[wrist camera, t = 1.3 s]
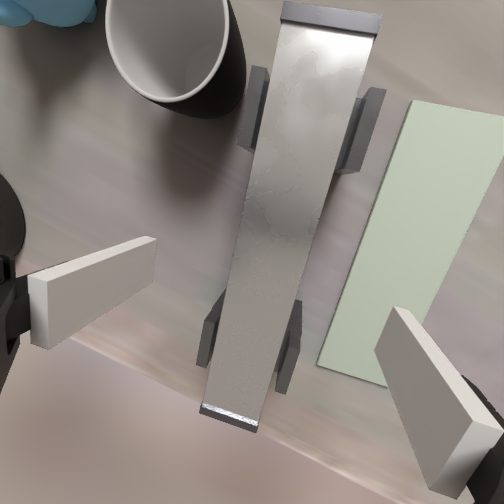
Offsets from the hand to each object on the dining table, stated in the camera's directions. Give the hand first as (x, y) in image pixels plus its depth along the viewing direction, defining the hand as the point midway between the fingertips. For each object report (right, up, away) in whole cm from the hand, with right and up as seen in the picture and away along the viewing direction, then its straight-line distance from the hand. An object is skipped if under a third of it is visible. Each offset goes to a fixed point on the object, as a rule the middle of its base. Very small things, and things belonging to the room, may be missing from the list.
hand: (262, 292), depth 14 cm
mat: (+15, +1, +14) cm, 21 cm away
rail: (+1, +3, +9) cm, 9 cm away
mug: (-6, +21, +13) cm, 25 cm away
